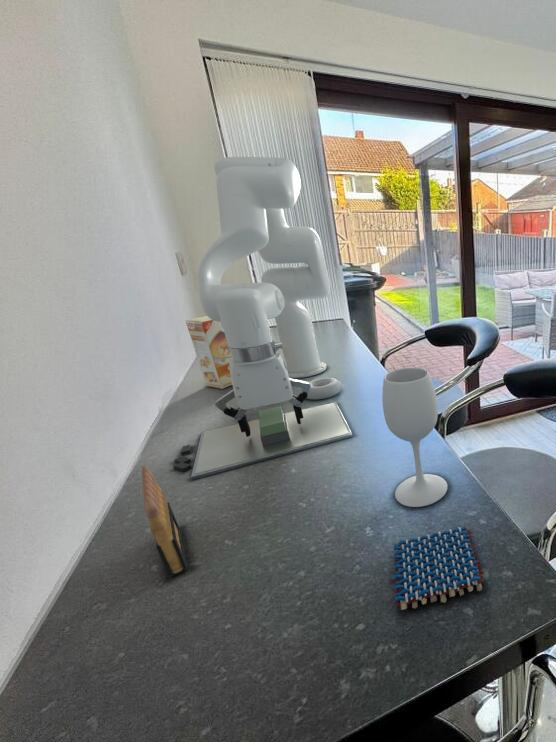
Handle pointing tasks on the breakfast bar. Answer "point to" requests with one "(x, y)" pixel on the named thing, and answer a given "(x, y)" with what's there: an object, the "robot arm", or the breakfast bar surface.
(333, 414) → the board
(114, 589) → the breakfast bar surface
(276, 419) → the eraser
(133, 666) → the breakfast bar surface
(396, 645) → the breakfast bar surface
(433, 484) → the wineglass
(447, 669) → the breakfast bar surface
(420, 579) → the woven mat
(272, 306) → the robot arm
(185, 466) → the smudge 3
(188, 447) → the dark grey small bar
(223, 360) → the coffeecake box
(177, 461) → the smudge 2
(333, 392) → the donut
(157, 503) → the ammunition clip
